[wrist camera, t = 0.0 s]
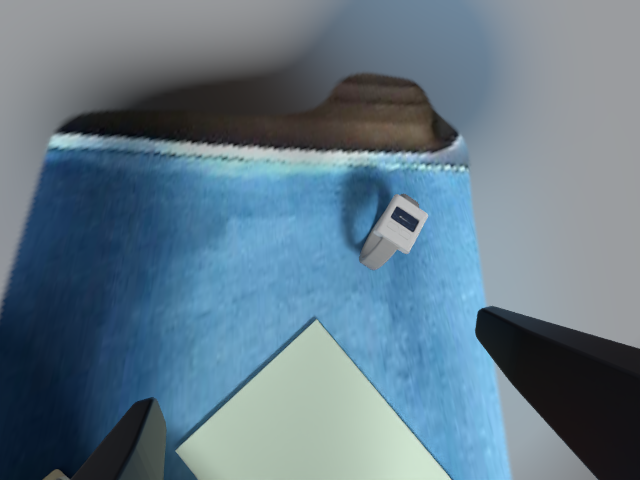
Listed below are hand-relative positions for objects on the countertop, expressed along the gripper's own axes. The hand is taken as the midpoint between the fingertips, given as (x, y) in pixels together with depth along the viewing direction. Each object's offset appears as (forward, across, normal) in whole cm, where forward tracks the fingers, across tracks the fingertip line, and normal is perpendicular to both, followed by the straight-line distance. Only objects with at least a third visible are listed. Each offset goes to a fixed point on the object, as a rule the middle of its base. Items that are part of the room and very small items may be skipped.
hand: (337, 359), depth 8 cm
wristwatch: (+16, -8, +4) cm, 18 cm away
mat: (+7, -1, +16) cm, 18 cm away
